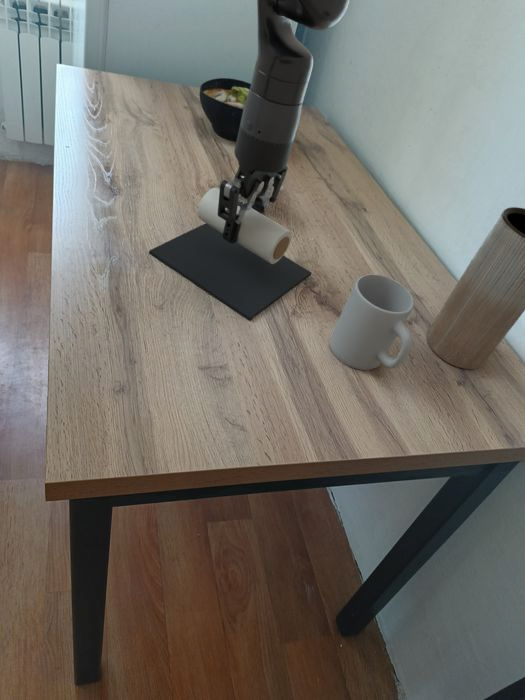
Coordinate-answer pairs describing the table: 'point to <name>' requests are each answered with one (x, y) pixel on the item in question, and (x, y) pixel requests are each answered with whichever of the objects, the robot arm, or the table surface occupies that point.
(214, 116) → the bowl
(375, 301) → the mug
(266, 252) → the towel roll
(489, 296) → the planter
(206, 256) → the mat
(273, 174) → the robot arm
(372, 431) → the table surface
